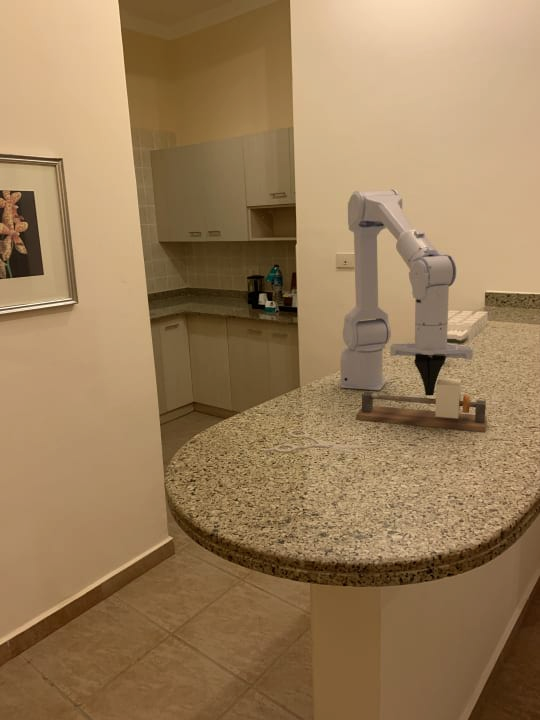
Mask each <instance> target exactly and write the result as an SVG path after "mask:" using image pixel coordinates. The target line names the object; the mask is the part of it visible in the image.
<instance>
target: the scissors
mask: <svg viewBox="0 0 540 720" xmlns="http://www.w3.org/2000/svg"><path fill="white" fill-rule="evenodd" d="M294 433H302V434H303V435H302V434H301V435H298V434H294ZM288 435H289V436H290V437H292V438H295V439H300V438H302V439H303V438H305V439H310V440H312V441H314V442H315V443H314V444H309V445H303V446H302V445H293V444H291V443H284V444H279V445H276V446H275V447H271V448H263V450H262V452H264V453H265V452H274V451H276V452H277V453H284V454H285V453H287V454H288V453H292V452H295V451H297V450H300V449H302V450H307V449H311V448H326V449H327V448H330V449H335V450H340V451H345V452H349V453H353V454H360V455H363V456H371V457H375V458H379V456H378V455H373V454H369V453H366V452H362V451H356V450H352V449H356V448H357V449H359V448H360V449H363V448H365V449H366V448H367V449H375V448H377V449H379V448H385V447H383V446H371V445H369V446H367V445H355V444H338V443H337V444H335V443H332V442H328V441H324V440H320V439H317V438H316V437H314V436H310V435H309V434H308V432H306V431H305V430H301V429H295V430H290V431H289V432H288ZM286 447H287V448H288V447H289V448H290V449H280V448H286ZM380 458H382V457H381V456H380Z"/></svg>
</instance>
